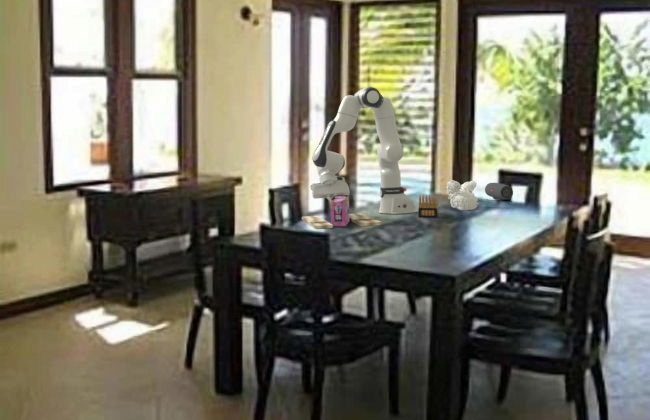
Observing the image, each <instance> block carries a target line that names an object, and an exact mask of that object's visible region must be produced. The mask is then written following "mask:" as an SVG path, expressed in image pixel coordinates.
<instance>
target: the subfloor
mask: <svg viewBox="0 0 650 420" xmlns="http://www.w3.org/2000/svg"><path fill="white" fill-rule="evenodd" d="M349 214H350V221H349V222H352V223H354V224H356V225H358V226H359V227H370V226H382V225H383V222H382V221H381V220H378V219H377V218H374V217H373V216H370V215H368V214H366V213H364V212H363V213H362V212H360V213H359V212H358V213H349ZM301 220H302V221H303V222H305V223H306V224H308V225H309V226H310V227H312V228H313V229H315V230H319V229H320V230H321V229H323V230H324V229H333V228H334V226H333V225H332V224H331V222H329V221H328V220H326V219H324V218H323V217H321V216H319V215H310V216H309V215H308V216H306V215H305V216H301Z"/></svg>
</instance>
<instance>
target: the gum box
mask: <svg viewBox="0 0 650 420" xmlns="http://www.w3.org/2000/svg"><path fill="white" fill-rule="evenodd" d="M350 214H351V213H350V194H349V195H335V196H334V197H331V203H330V223H331V224H332V225H333V227H347V225H348V224H349V222H351V221H350Z"/></svg>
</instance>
